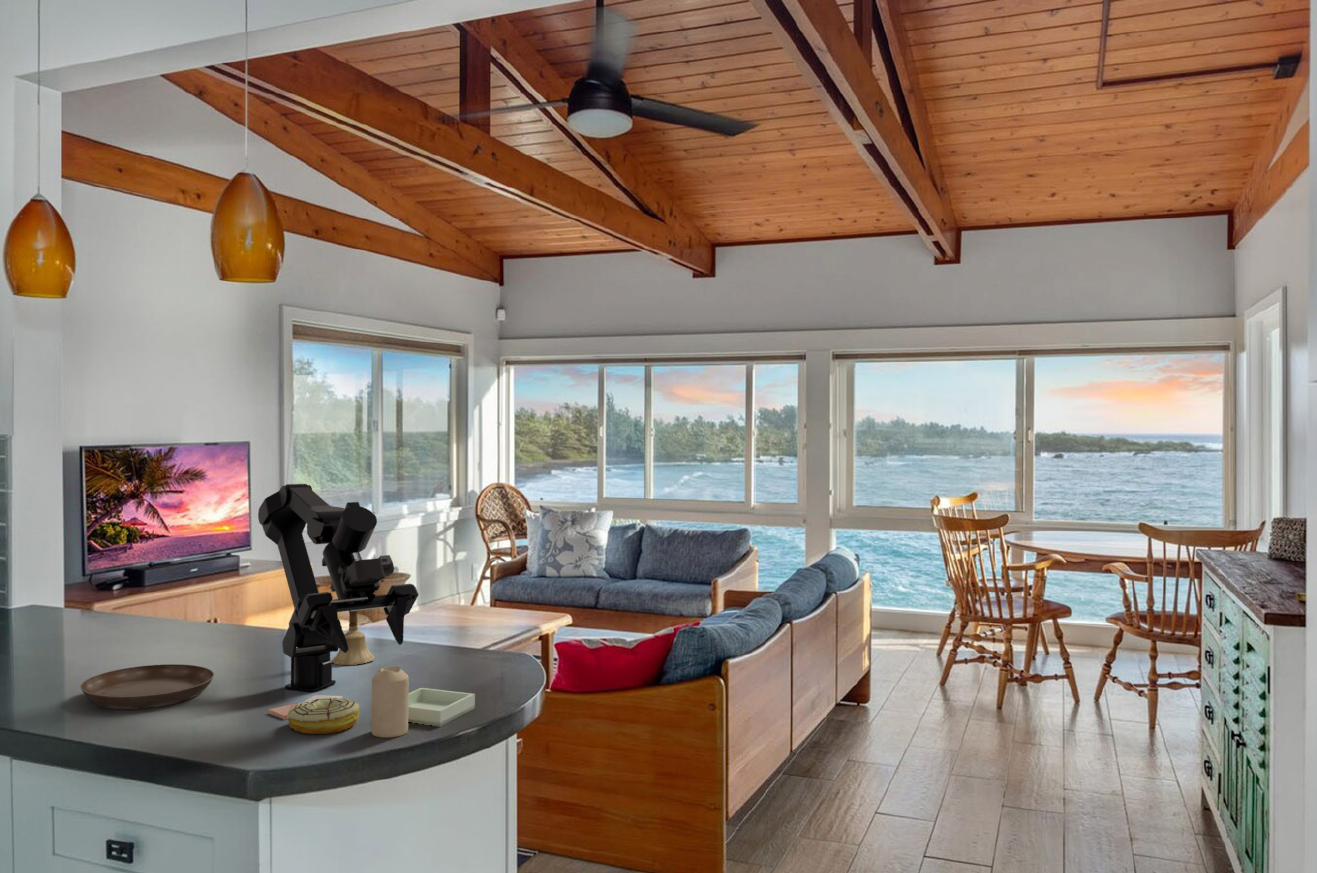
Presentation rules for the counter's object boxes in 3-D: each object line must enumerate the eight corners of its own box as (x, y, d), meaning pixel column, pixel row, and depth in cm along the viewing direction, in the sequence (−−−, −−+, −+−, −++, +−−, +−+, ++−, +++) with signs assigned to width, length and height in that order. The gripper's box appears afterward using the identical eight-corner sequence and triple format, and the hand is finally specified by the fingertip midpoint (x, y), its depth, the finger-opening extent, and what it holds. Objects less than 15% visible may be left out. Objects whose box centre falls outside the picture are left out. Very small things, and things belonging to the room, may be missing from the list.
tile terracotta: (268, 716, 157) (269, 709, 157) (297, 710, 161) (297, 703, 161) (284, 723, 154) (284, 715, 154) (312, 716, 158) (313, 709, 158)
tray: (383, 719, 154) (384, 704, 154) (420, 702, 164) (421, 687, 164) (440, 726, 151) (440, 711, 151) (474, 708, 161) (474, 694, 161)
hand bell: (322, 663, 191) (323, 584, 191) (350, 654, 199) (351, 578, 198) (356, 667, 188) (357, 587, 188) (383, 658, 195) (384, 581, 195)
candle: (398, 739, 145) (398, 673, 145) (364, 736, 146) (365, 671, 146) (414, 728, 150) (415, 665, 150) (382, 725, 151) (382, 663, 151)
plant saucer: (232, 697, 167) (233, 679, 167) (100, 722, 152) (101, 701, 152) (190, 675, 181) (190, 658, 181) (65, 696, 167) (65, 677, 167)
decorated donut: (317, 714, 158) (317, 691, 158) (372, 721, 154) (373, 698, 154) (273, 732, 148) (273, 708, 148) (331, 740, 144) (331, 715, 144)
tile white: (301, 710, 161) (301, 703, 161) (315, 701, 166) (315, 695, 166) (329, 711, 160) (329, 704, 160) (342, 703, 165) (342, 696, 165)
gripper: (304, 543, 150) (331, 624, 142) (414, 536, 163) (444, 610, 154) (286, 587, 156) (311, 667, 148) (393, 576, 169) (421, 650, 160)
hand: (374, 647), depth 152 cm, fingers open, 9 cm apart
